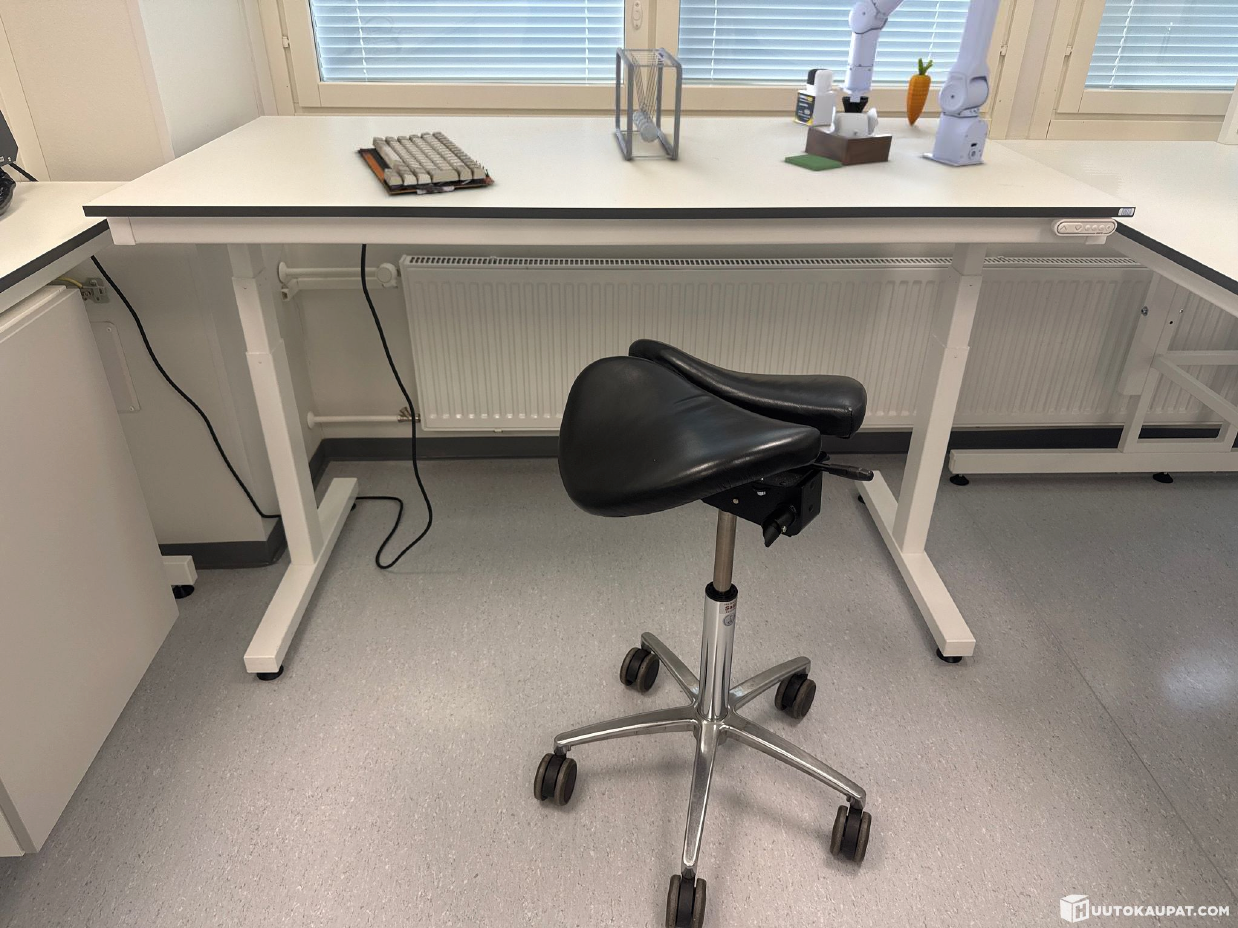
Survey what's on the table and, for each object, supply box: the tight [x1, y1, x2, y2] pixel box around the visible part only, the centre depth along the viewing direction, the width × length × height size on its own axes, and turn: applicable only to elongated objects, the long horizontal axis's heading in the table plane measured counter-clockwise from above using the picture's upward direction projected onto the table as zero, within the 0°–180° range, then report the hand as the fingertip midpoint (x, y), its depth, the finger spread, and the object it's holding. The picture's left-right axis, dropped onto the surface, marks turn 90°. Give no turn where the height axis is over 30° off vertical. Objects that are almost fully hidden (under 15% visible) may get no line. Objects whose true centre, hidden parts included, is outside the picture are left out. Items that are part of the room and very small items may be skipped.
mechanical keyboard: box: [356, 131, 495, 195], centre depth 156 cm, size 38×19×3 cm, turn 24°
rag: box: [784, 153, 843, 171], centre depth 165 cm, size 9×7×1 cm
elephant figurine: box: [829, 106, 879, 138], centre depth 173 cm, size 10×12×9 cm
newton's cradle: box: [614, 46, 683, 161], centre depth 172 cm, size 30×10×18 cm, turn 5°
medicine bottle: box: [794, 68, 840, 127], centre depth 198 cm, size 7×7×12 cm
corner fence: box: [804, 126, 894, 167], centre depth 170 cm, size 13×11×5 cm
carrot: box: [906, 57, 934, 126], centre depth 197 cm, size 5×5×15 cm
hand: (850, 132), depth 184 cm, fingers closed
